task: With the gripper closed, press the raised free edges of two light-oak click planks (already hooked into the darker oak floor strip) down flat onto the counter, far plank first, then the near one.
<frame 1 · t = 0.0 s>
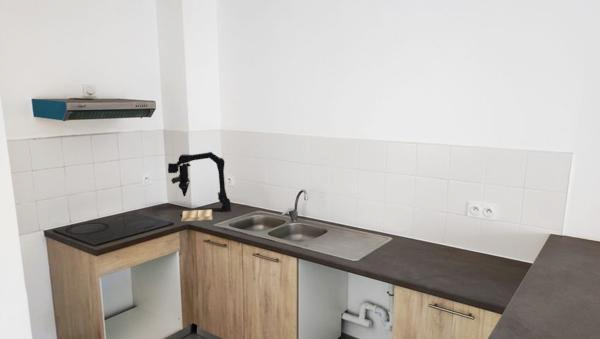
hand: (184, 194, 290), 14 cm above the worktop, fingers open, 9 cm apart
plank b: (189, 214, 284), point 2 cm above the worktop, hinge at 25.0°
plank a: (204, 213, 286), point 2 cm above the worktop, hinge at 25.0°
floor strip: (197, 220, 278), on the worktop
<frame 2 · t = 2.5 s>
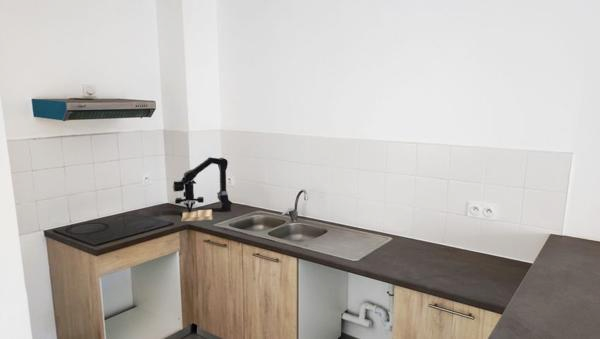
hand: (190, 212, 286), 3 cm above the worktop, fingers closed, pressing on plank b
plank b: (189, 215, 284), point 2 cm above the worktop, hinge at 18.9°, touching gripper
everything else where it was.
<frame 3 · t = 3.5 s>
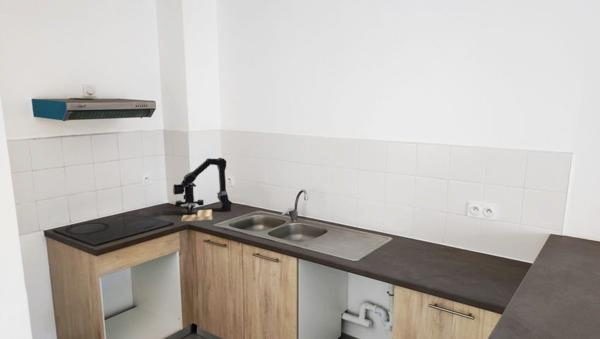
hand: (190, 215, 287), 1 cm above the worktop, fingers closed, pressing on plank b
plank b: (190, 216, 284), point 1 cm above the worktop, hinge at -0.1°, touching gripper
everything else where it was.
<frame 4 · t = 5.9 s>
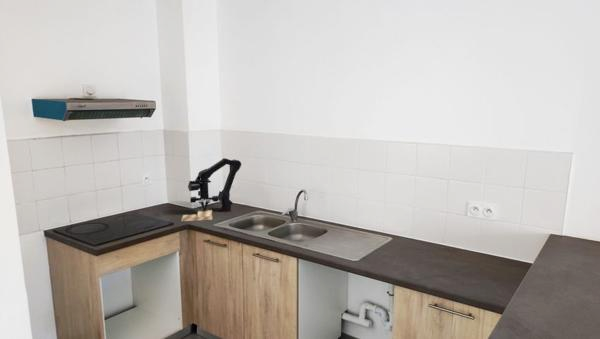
hand: (204, 211, 288), 3 cm above the worktop, fingers closed, pressing on plank a
plank b: (190, 216, 284), point 1 cm above the worktop, hinge at -0.1°
plank a: (204, 214, 286), point 2 cm above the worktop, hinge at 21.6°, touching gripper
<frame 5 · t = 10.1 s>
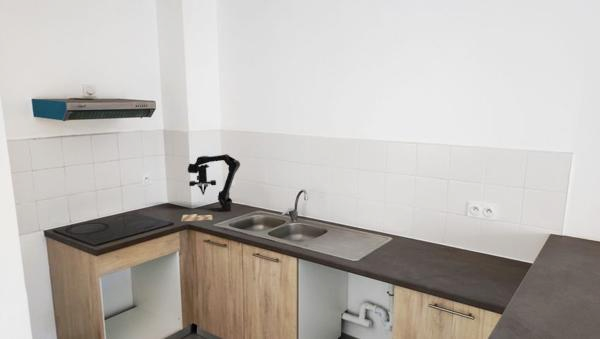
hand: (203, 194, 300), 12 cm above the worktop, fingers closed
plank a: (204, 216, 287), point 1 cm above the worktop, hinge at -0.9°
everything else where it was.
at the end: plank a at -1° (first picture: +25°); plank b at +0° (first picture: +25°) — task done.
